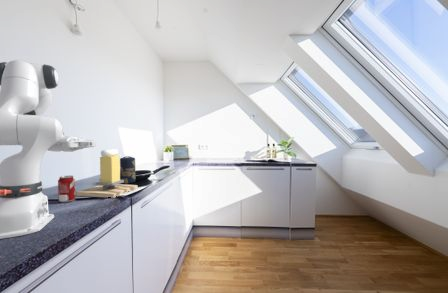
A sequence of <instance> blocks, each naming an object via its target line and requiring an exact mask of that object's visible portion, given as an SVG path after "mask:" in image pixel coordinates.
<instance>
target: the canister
mask: <svg viewBox="0 0 448 293" xmlns="http://www.w3.org/2000/svg"><path fill="white" fill-rule="evenodd" d="M136 178H137V177H136V157H134V156H130V155H129V156H128V155H125V156H123V157H121V158H120V180H124V182H123V183H122V184H133V183H135V182H136Z"/></svg>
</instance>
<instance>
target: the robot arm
mask: <svg viewBox="0 0 448 293" xmlns="http://www.w3.org/2000/svg"><path fill="white" fill-rule="evenodd" d="M59 77H60V76H59V74H58V72H57V71H56V68H55V67H54V66H52V65H50V64H38V63H32V62H31V63H29V62H27V61H25V60H20V59H18V60H17V59H15V60H11V61H9V62H7V61H3V62H0V146H21V147H22V149H21V151H19V152H17V153H15V154H13V155H10V156H8V157H6V158H4V159H2V161H1V162H0V240H2V239H9V238H14V237H19V236H20V237H21V236H25V235H30V234H34V233H36V232H39V231H41V230H42V229H43V228H44V227H45V226H46V225H48V224H49V223H50V222H51V221H52V220H53V219H54V218H55V215H54V213H49V201H48V200H49V199H48V196H47V195H46V194H44V193H43V182H42V181H41V167H42V166H41V164H42V159H43V157H44V155H45V153H46V152H47V151H49V152H58V153H59V152H67V153H68V152H69V153H70V152H71V153H72V152H75V151H78V150H83V149H87V148H94V147H96V143H97V142H96V141H95V139H93V140H92V139H84V138H83V137H82V138H80V137H75V136H68V135H67V136H65V133H64V128H63V125H62V123H61V122H60V121H59V120H58V119H57V118H55V117H51V116H46V115H43V114H44V113H45V112H47V110H48V108H50V106H51V105H52V103H53V93H52V90H51V89H56V88H57V87H58V86H59V81H60V78H59Z"/></svg>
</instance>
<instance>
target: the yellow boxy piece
mask: <svg viewBox="0 0 448 293" xmlns="http://www.w3.org/2000/svg"><path fill="white" fill-rule="evenodd" d="M100 155H101V156H99V168H100V170H99V172H100V178H99V179H98V181H97V182H96V183H95V184H96V186H99V185H109V186H113V185H116V184H124V183H123V182H124V180H120V155H119V150H118V149H116V148H113V149H102V150H101V151H100Z"/></svg>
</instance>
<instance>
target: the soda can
mask: <svg viewBox="0 0 448 293" xmlns="http://www.w3.org/2000/svg"><path fill="white" fill-rule="evenodd" d="M57 189H58V190H57V191H58V193H57V195H58V202H59V203H65V204H66V203H72V202H73V201H75V200H76V179H75V178H74V175H61V176H59V179H57Z"/></svg>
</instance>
